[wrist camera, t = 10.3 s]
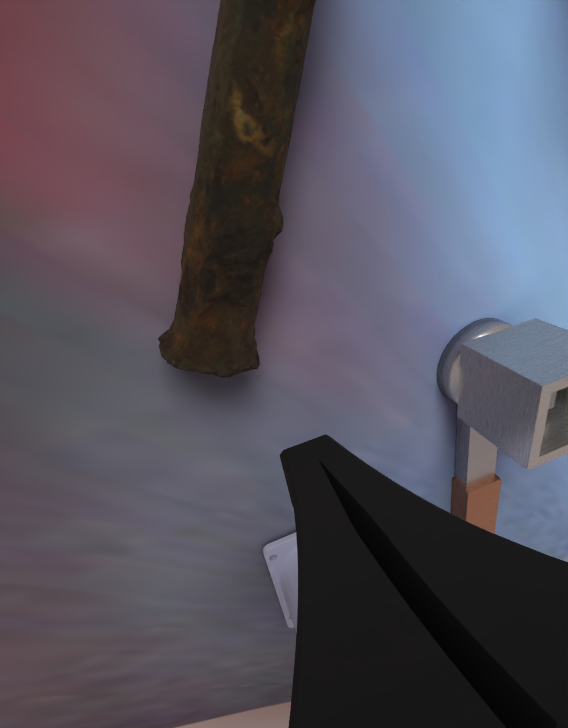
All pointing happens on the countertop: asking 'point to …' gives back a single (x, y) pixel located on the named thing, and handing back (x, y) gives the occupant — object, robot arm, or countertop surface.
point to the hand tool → (237, 183)
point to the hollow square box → (518, 390)
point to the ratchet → (472, 439)
